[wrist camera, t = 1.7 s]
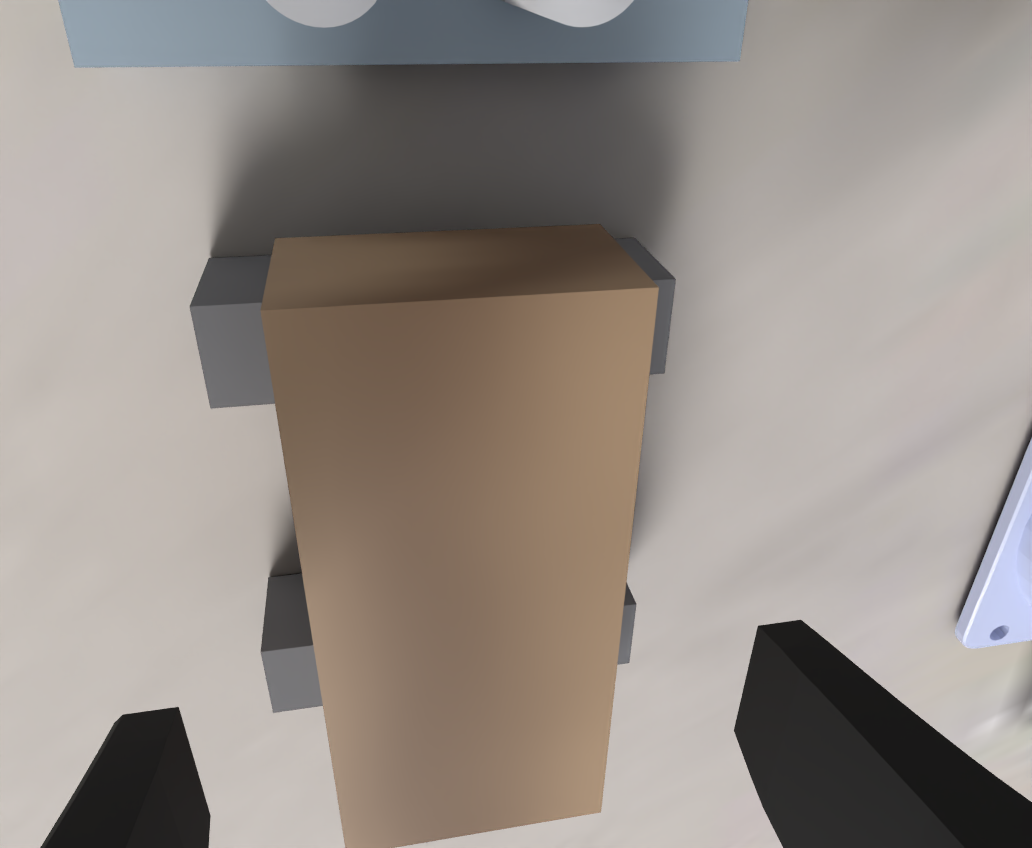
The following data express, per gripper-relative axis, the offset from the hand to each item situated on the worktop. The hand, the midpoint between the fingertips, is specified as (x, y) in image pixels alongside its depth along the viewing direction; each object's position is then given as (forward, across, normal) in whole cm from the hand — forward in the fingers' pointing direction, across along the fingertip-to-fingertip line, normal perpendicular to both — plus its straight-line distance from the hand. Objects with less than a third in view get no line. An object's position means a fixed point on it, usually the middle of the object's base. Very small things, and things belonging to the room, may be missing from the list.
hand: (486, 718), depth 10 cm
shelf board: (+4, 0, 0) cm, 4 cm away
